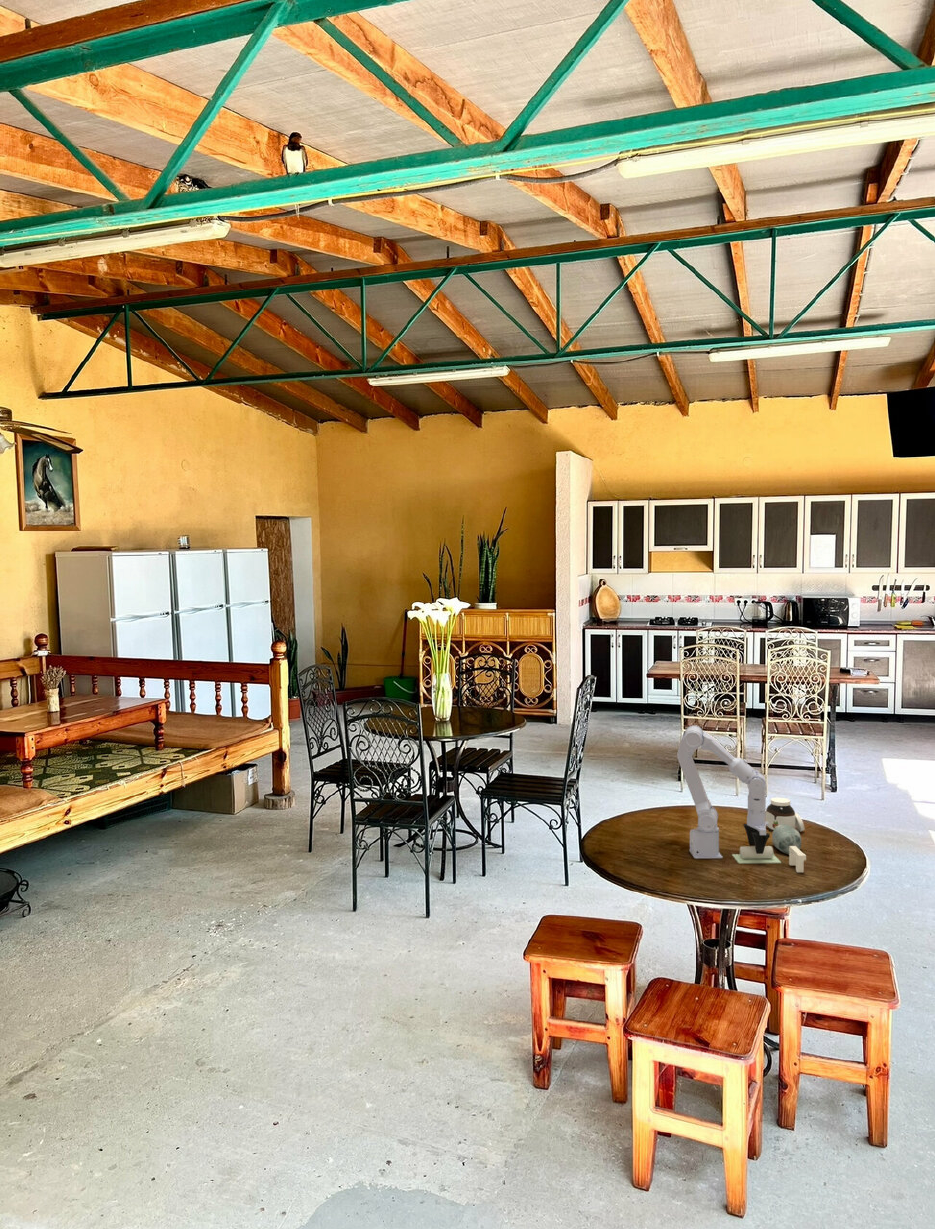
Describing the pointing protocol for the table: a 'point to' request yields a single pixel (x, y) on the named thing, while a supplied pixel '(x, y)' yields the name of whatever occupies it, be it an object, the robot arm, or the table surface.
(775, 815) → the spread jar
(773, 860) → the mat
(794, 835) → the mottled grey-green ovoid
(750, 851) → the cylinder
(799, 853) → the cream flat notched block
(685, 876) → the table surface
